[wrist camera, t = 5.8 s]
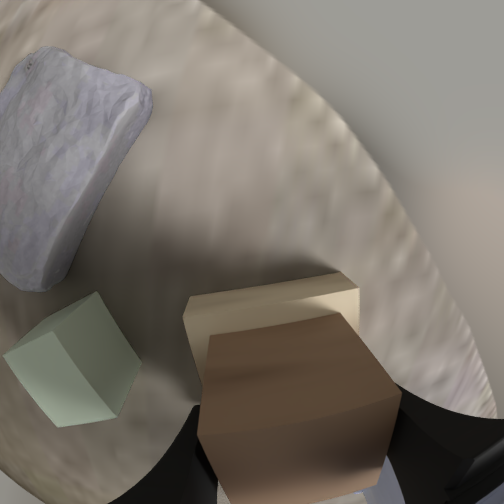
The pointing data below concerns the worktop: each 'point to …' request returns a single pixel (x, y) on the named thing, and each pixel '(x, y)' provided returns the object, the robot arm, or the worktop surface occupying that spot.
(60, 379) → the sage cube
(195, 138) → the worktop surface
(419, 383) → the worktop surface
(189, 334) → the oak block
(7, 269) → the stone block
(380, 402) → the walnut cube
